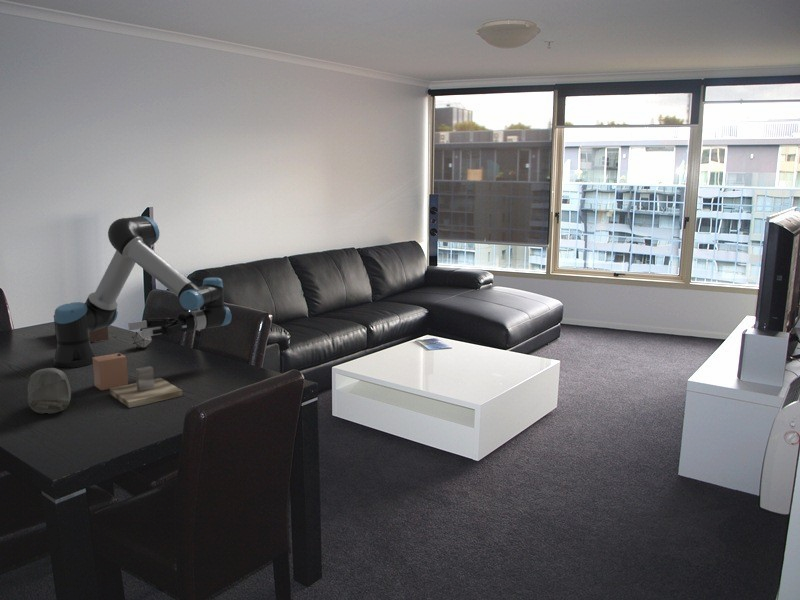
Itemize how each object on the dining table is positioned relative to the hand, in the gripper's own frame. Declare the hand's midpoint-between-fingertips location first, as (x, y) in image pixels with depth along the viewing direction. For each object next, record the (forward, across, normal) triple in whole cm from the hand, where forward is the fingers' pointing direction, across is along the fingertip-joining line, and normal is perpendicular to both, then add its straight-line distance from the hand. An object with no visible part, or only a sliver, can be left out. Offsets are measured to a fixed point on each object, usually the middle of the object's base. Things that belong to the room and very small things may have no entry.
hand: (135, 329), depth 238 cm
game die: (-18, +43, -19) cm, 50 cm away
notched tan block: (+10, 0, -19) cm, 21 cm away
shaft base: (+4, -18, -19) cm, 27 cm away
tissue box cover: (-3, +79, -19) cm, 81 cm away
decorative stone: (+33, -12, -19) cm, 40 cm away
